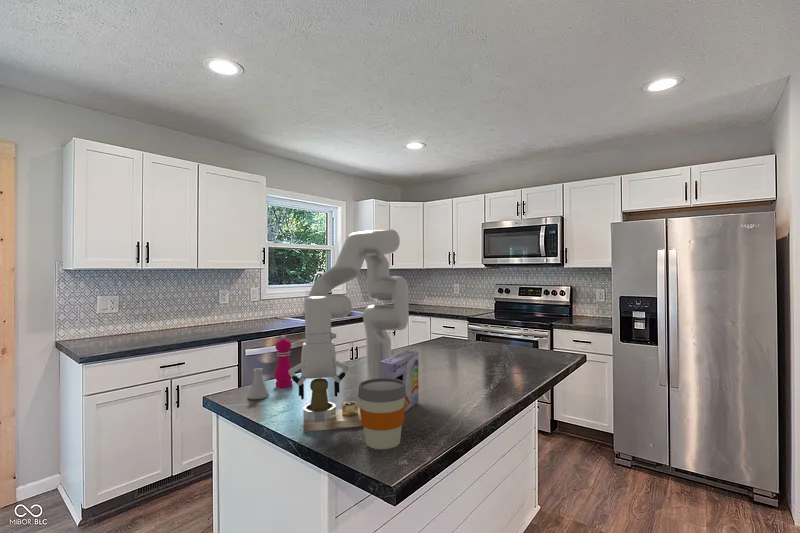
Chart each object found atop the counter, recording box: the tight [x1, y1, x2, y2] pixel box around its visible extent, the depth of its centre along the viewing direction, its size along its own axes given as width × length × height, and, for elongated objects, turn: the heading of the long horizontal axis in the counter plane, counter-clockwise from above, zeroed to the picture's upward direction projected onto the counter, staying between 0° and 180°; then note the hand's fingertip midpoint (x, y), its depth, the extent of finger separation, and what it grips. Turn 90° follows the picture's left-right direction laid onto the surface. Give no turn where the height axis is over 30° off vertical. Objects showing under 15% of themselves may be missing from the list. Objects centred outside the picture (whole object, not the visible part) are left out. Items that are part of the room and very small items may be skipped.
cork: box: [309, 378, 329, 411], centre depth 119 cm, size 6×6×11 cm
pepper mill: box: [273, 334, 293, 389], centre depth 159 cm, size 7×7×20 cm
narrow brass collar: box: [341, 400, 359, 417], centre depth 121 cm, size 5×5×3 cm
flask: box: [247, 367, 270, 400], centre depth 145 cm, size 7×7×10 cm
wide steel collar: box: [302, 401, 337, 423], centre depth 119 cm, size 9×9×3 cm
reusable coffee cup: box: [357, 378, 406, 450], centre depth 105 cm, size 13×13×15 cm
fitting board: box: [302, 407, 363, 433], centre depth 120 cm, size 18×10×2 cm, turn 102°
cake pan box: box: [380, 349, 419, 413], centre depth 128 cm, size 19×5×18 cm, turn 151°
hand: (319, 396), depth 119 cm, fingers open, 9 cm apart
